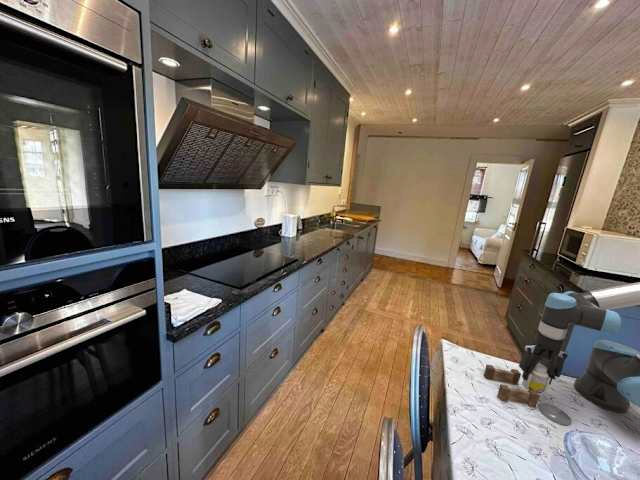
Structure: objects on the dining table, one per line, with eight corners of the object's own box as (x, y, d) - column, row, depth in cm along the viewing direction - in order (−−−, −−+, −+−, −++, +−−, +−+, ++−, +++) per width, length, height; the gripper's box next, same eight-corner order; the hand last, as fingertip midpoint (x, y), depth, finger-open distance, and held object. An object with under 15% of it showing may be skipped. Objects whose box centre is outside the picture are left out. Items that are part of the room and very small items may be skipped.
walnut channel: (514, 380, 109) (517, 369, 108) (535, 407, 96) (539, 395, 94) (483, 375, 110) (486, 364, 109) (500, 400, 97) (503, 388, 96)
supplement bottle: (527, 381, 105) (533, 359, 103) (544, 391, 101) (551, 367, 99) (522, 387, 102) (529, 364, 100) (540, 397, 98) (547, 373, 95)
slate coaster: (558, 406, 97) (559, 405, 97) (578, 428, 88) (578, 426, 88) (532, 401, 98) (532, 400, 98) (548, 422, 90) (549, 421, 89)
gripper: (570, 333, 99) (553, 386, 104) (517, 325, 101) (502, 376, 106) (587, 345, 92) (567, 401, 96) (529, 335, 94) (512, 390, 99)
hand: (533, 388), depth 101 cm, fingers closed on supplement bottle, 6 cm apart
